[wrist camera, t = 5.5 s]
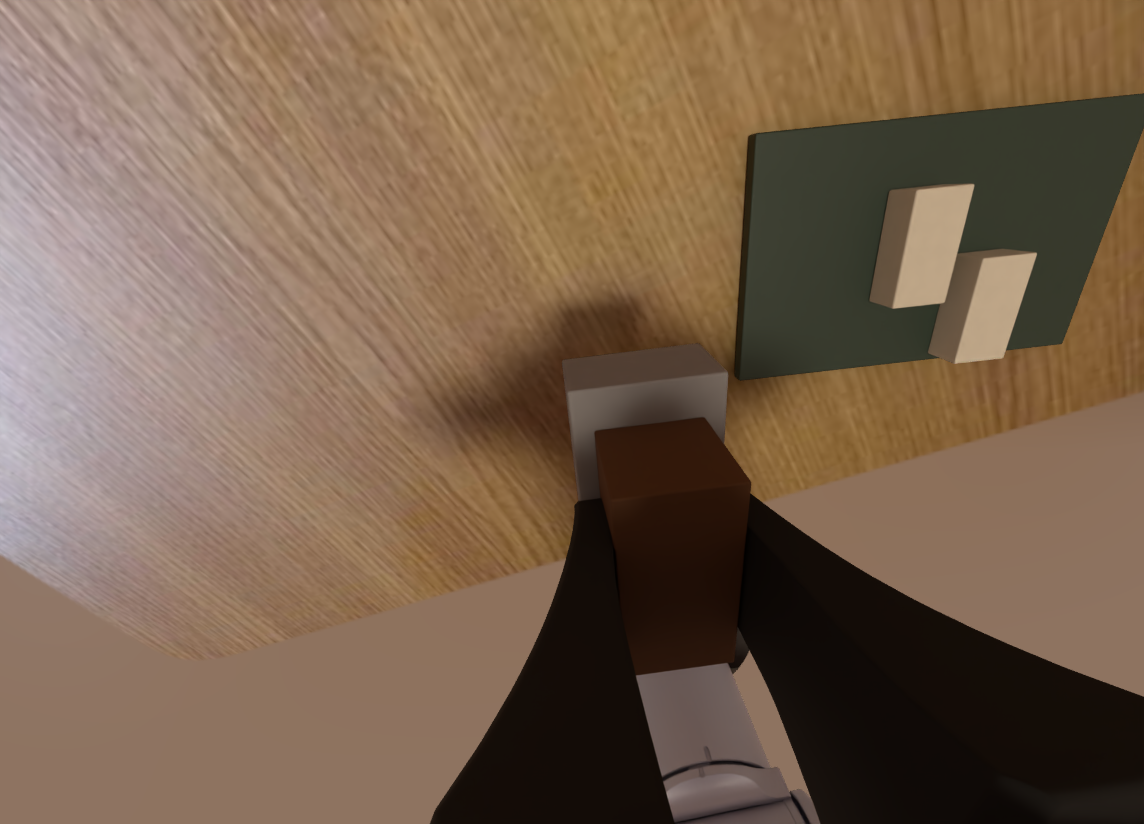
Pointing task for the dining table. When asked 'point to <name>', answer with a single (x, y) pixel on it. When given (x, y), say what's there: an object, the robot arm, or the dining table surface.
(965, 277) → the chalk
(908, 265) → the chalk
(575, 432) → the eraser
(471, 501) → the dining table surface
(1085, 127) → the slate
